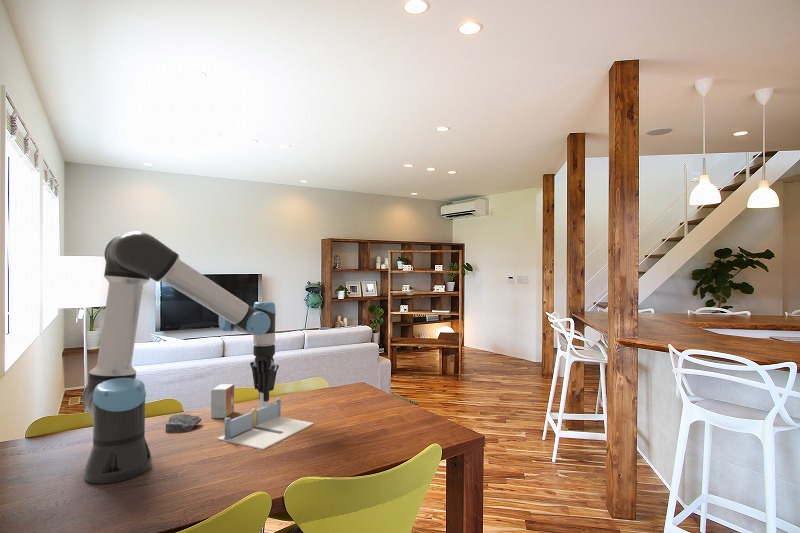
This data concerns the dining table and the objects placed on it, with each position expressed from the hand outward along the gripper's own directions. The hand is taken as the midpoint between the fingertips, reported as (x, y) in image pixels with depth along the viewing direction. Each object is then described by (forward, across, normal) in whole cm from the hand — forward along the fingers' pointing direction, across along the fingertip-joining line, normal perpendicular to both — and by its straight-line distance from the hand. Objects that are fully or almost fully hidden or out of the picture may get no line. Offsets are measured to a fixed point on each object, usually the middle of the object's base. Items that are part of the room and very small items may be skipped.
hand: (263, 409), depth 159 cm
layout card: (+3, -11, +8) cm, 14 cm away
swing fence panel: (+3, -4, +2) cm, 5 cm away
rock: (+4, +16, +21) cm, 27 cm away
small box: (+4, +17, +5) cm, 18 cm away
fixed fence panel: (+3, -6, +15) cm, 16 cm away
